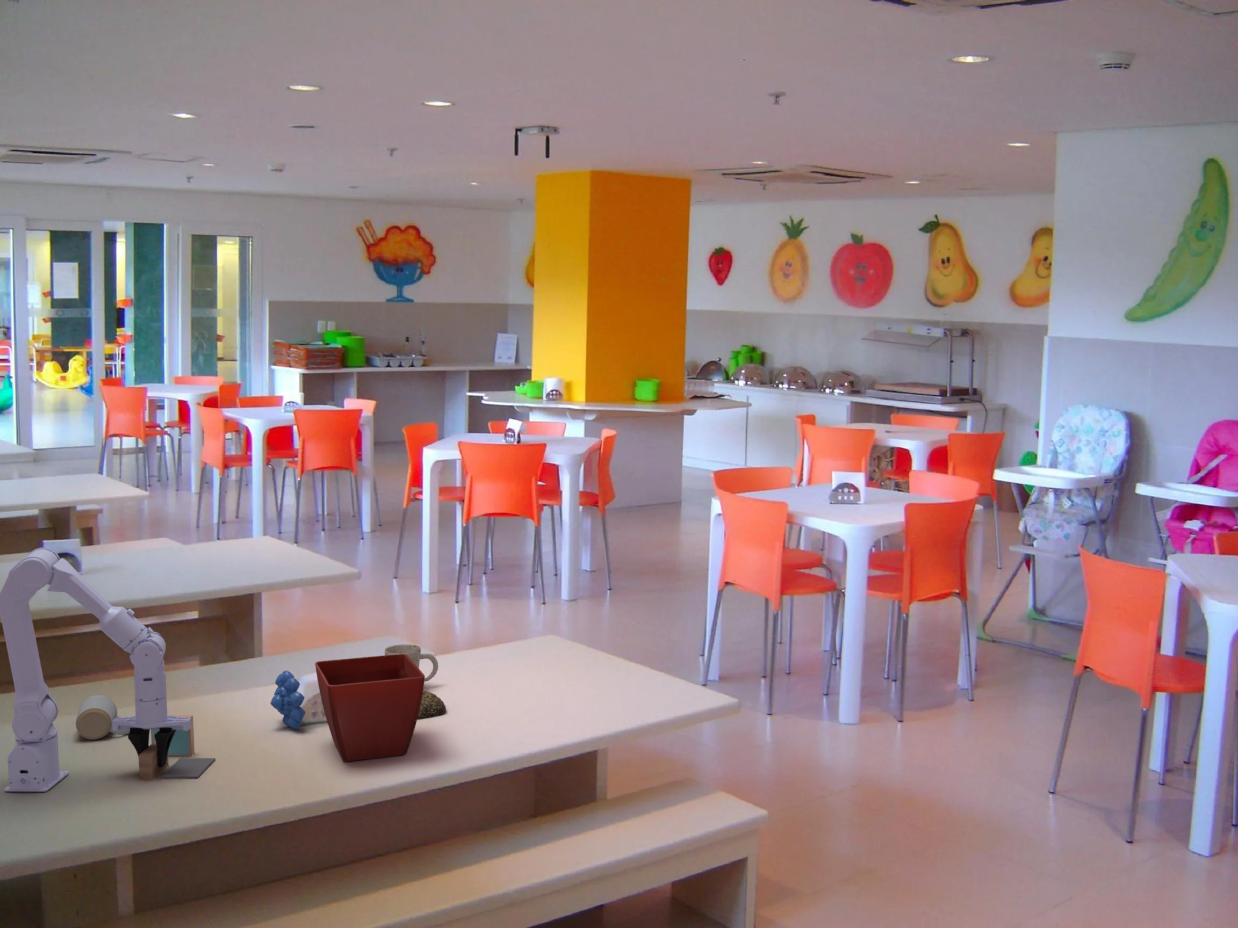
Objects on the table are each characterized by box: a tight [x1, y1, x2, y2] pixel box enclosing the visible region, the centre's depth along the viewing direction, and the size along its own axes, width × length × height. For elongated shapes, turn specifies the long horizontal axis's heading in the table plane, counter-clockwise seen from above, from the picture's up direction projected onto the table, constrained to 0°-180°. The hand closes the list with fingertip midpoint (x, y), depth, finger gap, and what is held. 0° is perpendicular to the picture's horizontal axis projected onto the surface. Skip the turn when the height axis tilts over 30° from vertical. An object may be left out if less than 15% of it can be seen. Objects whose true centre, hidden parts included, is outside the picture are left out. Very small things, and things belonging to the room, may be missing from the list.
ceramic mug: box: [75, 694, 130, 741], centre depth 265 cm, size 11×8×8 cm
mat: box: [160, 757, 216, 780], centre depth 245 cm, size 10×7×1 cm
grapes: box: [269, 670, 306, 730], centre depth 269 cm, size 12×7×12 cm, turn 37°
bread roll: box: [417, 689, 447, 720], centre depth 281 cm, size 13×12×5 cm
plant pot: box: [314, 654, 426, 762], centre depth 255 cm, size 19×19×17 cm
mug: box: [384, 643, 439, 683], centre depth 297 cm, size 8×13×10 cm, turn 115°
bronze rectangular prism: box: [137, 741, 169, 782], centre depth 243 cm, size 8×2×5 cm, turn 179°
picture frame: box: [150, 714, 195, 757], centre depth 253 cm, size 2×8×8 cm, turn 89°
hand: (153, 765), depth 243 cm, fingers open, 3 cm apart
